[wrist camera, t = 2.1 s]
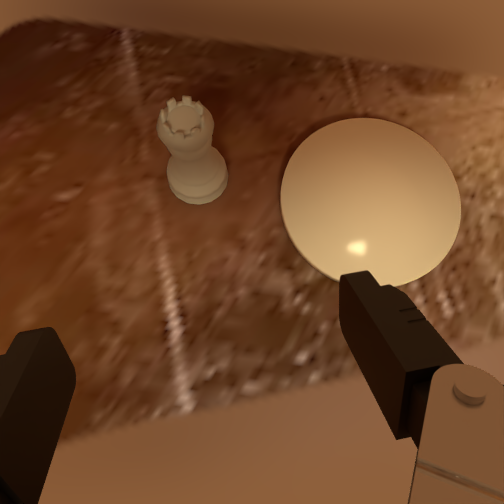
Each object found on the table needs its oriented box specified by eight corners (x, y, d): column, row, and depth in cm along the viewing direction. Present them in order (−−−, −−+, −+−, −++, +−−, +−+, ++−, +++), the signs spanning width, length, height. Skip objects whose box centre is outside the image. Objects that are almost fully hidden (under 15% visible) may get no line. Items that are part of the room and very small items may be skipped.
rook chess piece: (182, 144, 29) (159, 70, 21) (237, 162, 28) (235, 94, 21) (159, 196, 28) (127, 137, 20) (216, 215, 27) (206, 163, 20)
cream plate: (300, 304, 26) (302, 302, 25) (264, 138, 29) (265, 131, 28) (476, 272, 27) (485, 269, 26) (424, 114, 30) (430, 106, 29)
